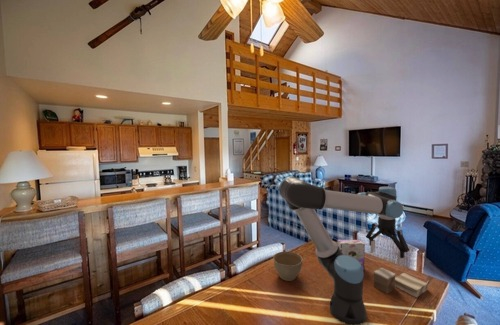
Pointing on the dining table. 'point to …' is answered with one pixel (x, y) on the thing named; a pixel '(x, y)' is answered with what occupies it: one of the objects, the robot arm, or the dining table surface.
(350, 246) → the candy box
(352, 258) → the robot arm
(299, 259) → the planter bowl
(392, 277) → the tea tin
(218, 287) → the dining table surface
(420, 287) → the riser block
